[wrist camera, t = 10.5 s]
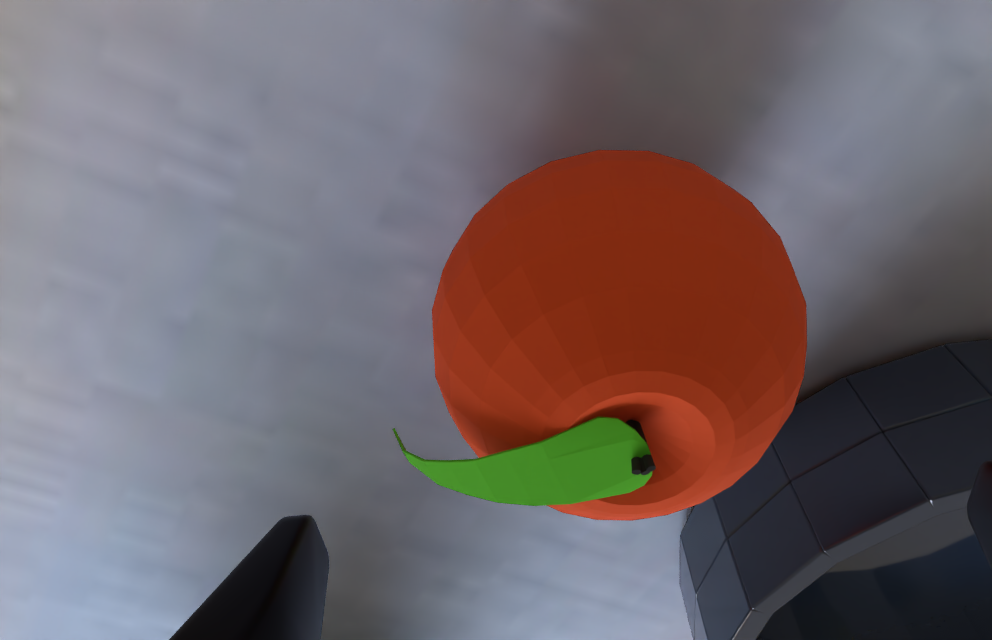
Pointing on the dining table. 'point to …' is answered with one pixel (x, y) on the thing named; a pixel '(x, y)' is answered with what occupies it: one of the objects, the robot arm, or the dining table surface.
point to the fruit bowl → (855, 514)
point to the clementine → (615, 339)
